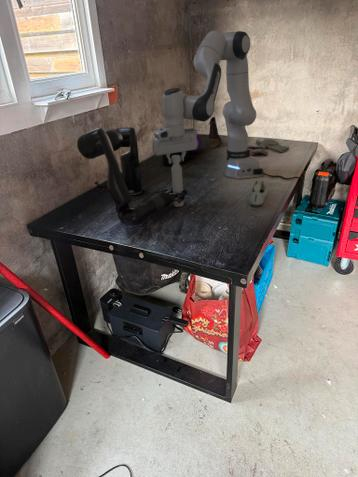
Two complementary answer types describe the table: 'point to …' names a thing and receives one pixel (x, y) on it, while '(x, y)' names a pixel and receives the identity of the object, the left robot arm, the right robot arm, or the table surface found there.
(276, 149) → the pair of gloves
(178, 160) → the cap
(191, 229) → the table surface
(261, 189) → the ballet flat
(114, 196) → the left robot arm
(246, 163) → the right robot arm
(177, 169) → the bottle
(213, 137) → the boot
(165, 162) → the handbag
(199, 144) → the decorative orb
